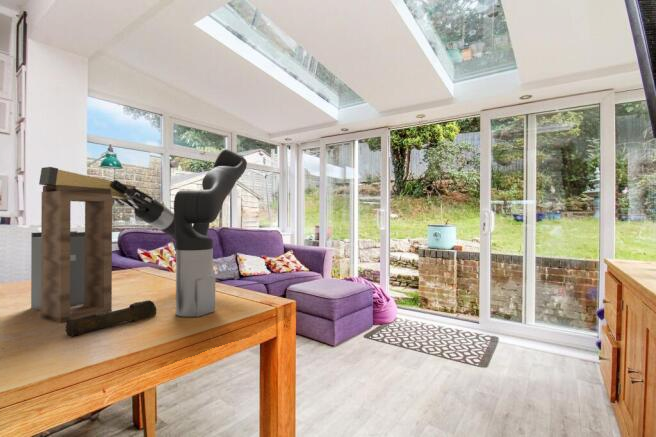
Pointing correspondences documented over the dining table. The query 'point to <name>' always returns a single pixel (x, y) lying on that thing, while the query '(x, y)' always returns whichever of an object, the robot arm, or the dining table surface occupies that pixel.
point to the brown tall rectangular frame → (58, 252)
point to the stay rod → (76, 181)
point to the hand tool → (111, 318)
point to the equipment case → (75, 269)
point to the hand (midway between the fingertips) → (108, 183)
